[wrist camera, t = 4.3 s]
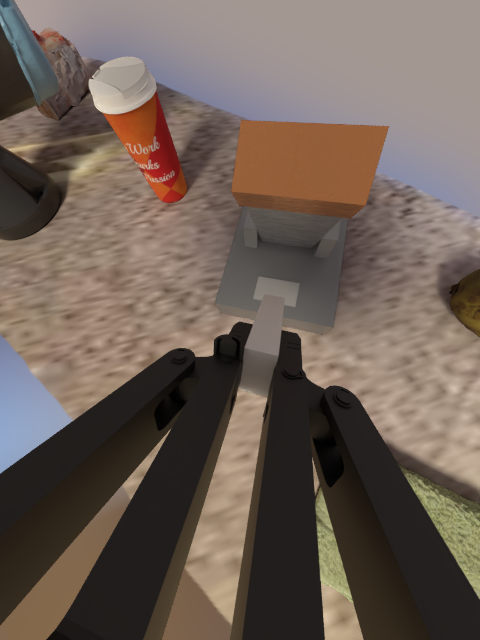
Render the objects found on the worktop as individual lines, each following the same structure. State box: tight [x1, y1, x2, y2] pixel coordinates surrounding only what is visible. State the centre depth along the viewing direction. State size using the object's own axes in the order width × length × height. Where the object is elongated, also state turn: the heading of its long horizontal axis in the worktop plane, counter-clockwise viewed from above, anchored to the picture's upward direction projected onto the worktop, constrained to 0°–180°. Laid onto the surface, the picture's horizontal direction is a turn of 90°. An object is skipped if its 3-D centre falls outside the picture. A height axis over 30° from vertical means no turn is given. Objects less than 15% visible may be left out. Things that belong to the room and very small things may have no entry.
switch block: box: [215, 206, 348, 334], centre depth 25 cm, size 20×14×7 cm
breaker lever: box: [231, 120, 389, 249], centre depth 17 cm, size 3×6×16 cm, turn 76°
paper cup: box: [89, 57, 187, 203], centre depth 28 cm, size 8×8×14 cm
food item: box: [32, 28, 91, 120], centre depth 41 cm, size 14×8×10 cm, turn 151°
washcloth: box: [315, 465, 480, 603], centre depth 18 cm, size 13×18×3 cm
